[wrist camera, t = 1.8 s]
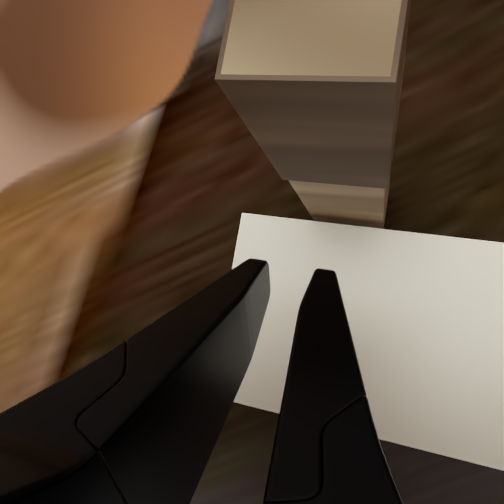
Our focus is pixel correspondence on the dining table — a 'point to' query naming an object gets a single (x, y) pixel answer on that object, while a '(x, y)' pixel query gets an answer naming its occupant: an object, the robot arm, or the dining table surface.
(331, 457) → the robot arm
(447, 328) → the cream rectangular box
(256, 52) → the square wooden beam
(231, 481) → the dining table surface
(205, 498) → the dining table surface
